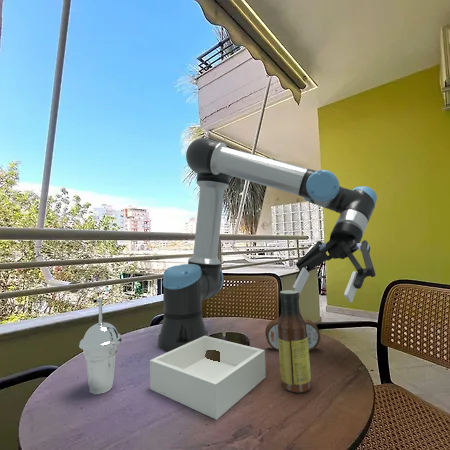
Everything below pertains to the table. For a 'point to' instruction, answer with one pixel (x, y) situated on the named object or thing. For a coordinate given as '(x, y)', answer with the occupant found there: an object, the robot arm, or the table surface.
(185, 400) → the box
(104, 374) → the cup with straw
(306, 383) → the sauce bottle
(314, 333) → the tin
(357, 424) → the table surface
